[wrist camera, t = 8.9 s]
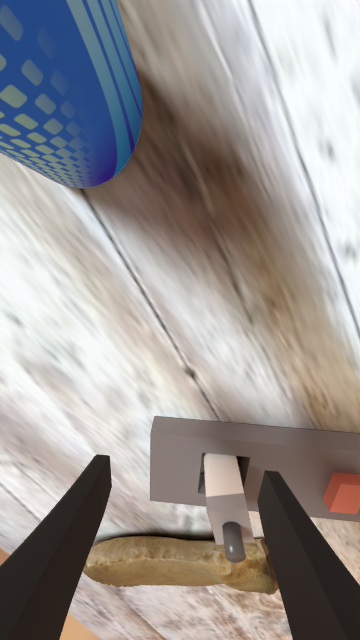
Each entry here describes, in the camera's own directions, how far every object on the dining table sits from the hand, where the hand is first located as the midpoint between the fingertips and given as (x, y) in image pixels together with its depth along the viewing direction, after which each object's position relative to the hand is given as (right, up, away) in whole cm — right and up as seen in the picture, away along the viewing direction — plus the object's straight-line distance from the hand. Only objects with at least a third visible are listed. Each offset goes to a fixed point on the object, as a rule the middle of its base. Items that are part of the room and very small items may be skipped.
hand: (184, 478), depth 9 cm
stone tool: (0, -22, +18) cm, 29 cm away
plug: (+4, -7, +12) cm, 14 cm away
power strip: (+8, -7, +12) cm, 16 cm away
